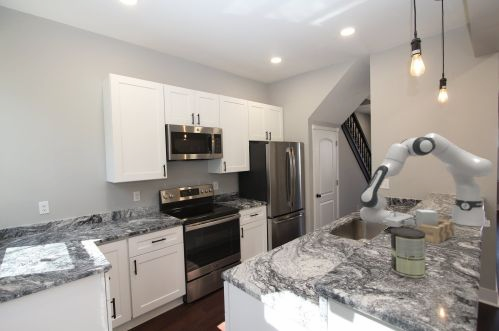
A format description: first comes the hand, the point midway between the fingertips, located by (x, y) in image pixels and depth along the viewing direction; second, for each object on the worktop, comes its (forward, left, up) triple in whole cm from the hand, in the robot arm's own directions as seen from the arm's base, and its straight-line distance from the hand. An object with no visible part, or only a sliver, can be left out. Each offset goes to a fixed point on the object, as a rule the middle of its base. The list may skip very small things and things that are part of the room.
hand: (416, 223), depth 132 cm
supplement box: (0, +5, -6) cm, 8 cm away
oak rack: (0, +9, -5) cm, 11 cm away
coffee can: (+52, +17, -6) cm, 55 cm away
